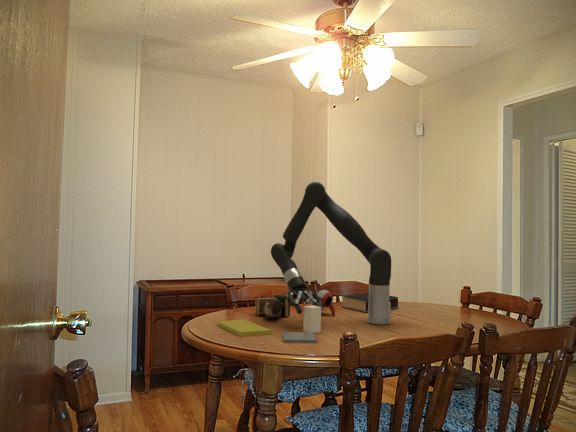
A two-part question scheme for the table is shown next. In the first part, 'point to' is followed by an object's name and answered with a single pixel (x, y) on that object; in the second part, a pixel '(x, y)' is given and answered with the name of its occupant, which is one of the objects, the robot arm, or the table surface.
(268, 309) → the bookend
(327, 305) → the toy
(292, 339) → the slate pad
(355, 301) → the book
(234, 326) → the flat olive board
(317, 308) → the cream block
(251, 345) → the table surface
